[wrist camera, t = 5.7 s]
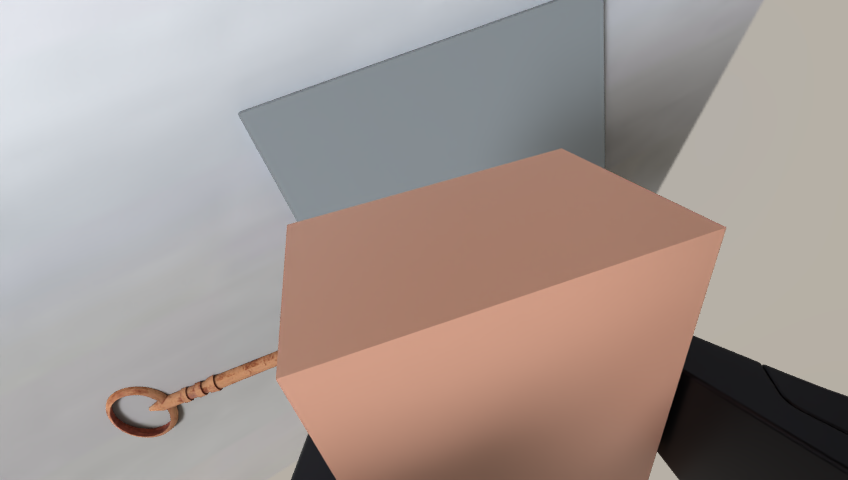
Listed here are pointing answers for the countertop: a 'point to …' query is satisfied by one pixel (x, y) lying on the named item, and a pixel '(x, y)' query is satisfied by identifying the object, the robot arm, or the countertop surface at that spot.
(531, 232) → the card box
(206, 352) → the countertop surface
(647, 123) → the countertop surface
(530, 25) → the mat
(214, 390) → the key
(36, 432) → the countertop surface
